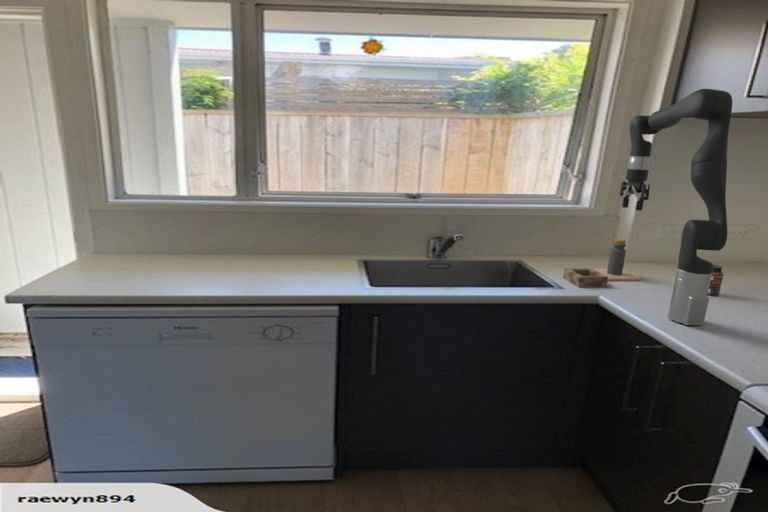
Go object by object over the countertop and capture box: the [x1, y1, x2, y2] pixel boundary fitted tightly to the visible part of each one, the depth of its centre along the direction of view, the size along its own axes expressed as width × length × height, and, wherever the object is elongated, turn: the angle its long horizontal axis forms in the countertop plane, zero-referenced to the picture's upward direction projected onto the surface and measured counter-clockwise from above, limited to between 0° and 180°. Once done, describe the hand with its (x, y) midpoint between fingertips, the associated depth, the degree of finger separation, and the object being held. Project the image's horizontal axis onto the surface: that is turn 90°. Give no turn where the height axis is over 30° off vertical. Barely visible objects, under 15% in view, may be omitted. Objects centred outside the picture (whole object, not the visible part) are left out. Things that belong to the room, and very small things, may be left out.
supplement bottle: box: [707, 264, 724, 297], centre depth 174 cm, size 6×6×11 cm
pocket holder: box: [563, 267, 609, 288], centre depth 186 cm, size 12×12×4 cm
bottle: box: [606, 238, 627, 275], centre depth 193 cm, size 6×6×15 cm
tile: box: [593, 268, 641, 282], centre depth 196 cm, size 14×14×1 cm
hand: (631, 208), depth 184 cm, fingers open, 8 cm apart
